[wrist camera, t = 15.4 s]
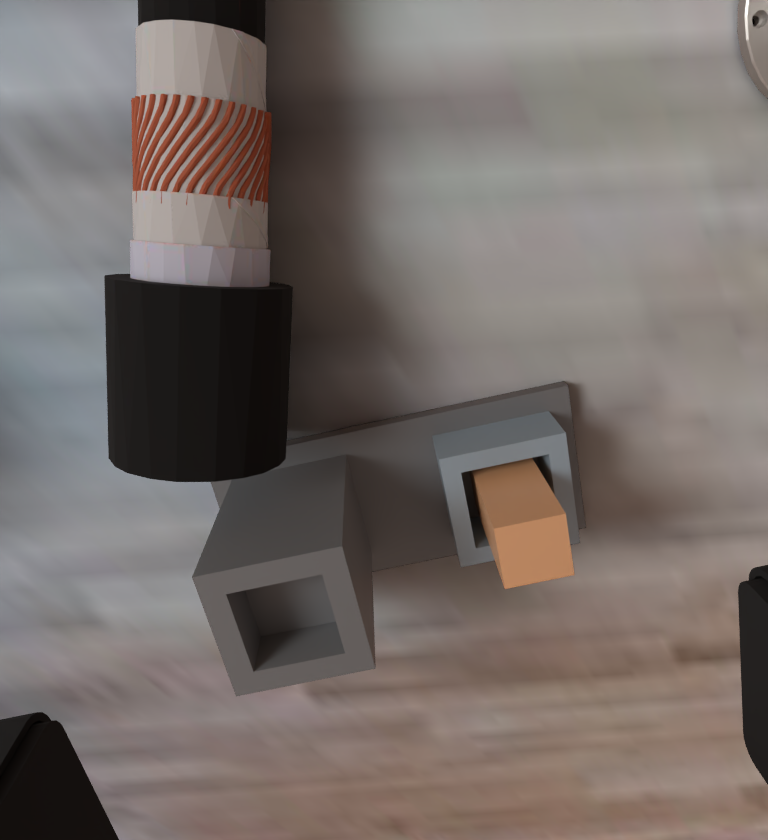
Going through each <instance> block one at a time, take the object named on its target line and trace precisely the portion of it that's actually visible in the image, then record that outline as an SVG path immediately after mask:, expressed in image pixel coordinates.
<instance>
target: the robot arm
mask: <svg viewBox="0 0 768 840" xmlns="http://www.w3.org/2000/svg"><path fill="white" fill-rule="evenodd" d="M752 18H754V20H755V24H754V26H753V23H752ZM737 32H738V39H739V45H740V51H741V55H742V58H743V61H744V63H745V66H746V69H747V72H748V74H749V76H750V77H751V79H752V80H753V82H754V84H755V85H756V87H757V88H758V90H759V91H760V92H761V93H762V94H763V95H764V96H765V97H766V98H767V99H768V0H739V3H738V22H737ZM738 598H739V626H740V654H741V681H742V709H743V734H744V740H745V744H746V747H747V750H748V753H749V755H750V757H751V759H752V761H753V763H754V764H755V766H756V768H757V769H758V771H759V772H760V774H761V775H762V777H763V778H764V780H765V781H766V783H767V784H768V565H765V566H760V567H755V568H753V569H752V570H751V572H750V574H749V581H744V582H741V583H740V585H739V589H738ZM0 840H119V839H118V837H117V835H116V833H115V831H114V829H113V827H112V825H111V823H110V821H109V819H108V817H107V815H106V813H105V811H104V809H103V807H102V805H101V803H100V801H99V799H98V797H97V795H96V793H95V791H94V788H93V786H92V784H91V782H90V780H89V778H88V776H87V774H86V772H85V770H84V768H83V766H82V764H81V762H80V760H79V758H78V756H77V754H76V752H75V750H74V748H73V746H72V744H71V742H70V740H69V738H68V736H67V734H66V732H65V730H64V728H63V726H62V725H61V723H59V722H58V721H51V720H50V718H49V717H48V716H47V715H46V714H44V713H43V712H37V713H32V714H27V715H22V716H17V717H12V718H7V719H2V720H0Z"/></svg>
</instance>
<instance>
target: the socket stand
mask: <svg viewBox="0 0 768 840" xmlns="http://www.w3.org/2000/svg"><path fill="white" fill-rule="evenodd" d="M529 458H533V460H534V462H535V463H536V465H537V467H538V468H539V470H540V472H541V473H542V475H543V477H544V478H545V480H546V482H547V483H548V485H549V487H550V488H551V490H552V492H553V493H554V495H555V497H556V498H557V500H558V502H559V503H560V505H561V506H562V508H563V510H564V511H565V513H566V518H567V525H568V533H569V540H570V545H573V544H577V543H580V538H579V531H578V529H582V528H586V524H585V516H584V509H583V501H582V493H581V485H580V477H579V469H578V461H577V453H576V445H575V437H574V429H573V421H572V413H571V405H570V397H569V389H568V385H567V384H566V383H565V382H564V381H562V382H557V383H553V384H548V385H544V386H539V387H534V388H530V389H525V390H520V391H516V392H511V393H506V394H502V395H497V396H492V397H488V398H483V399H478V400H474V401H469V402H465V403H460V404H455V405H451V406H446V407H441V408H437V409H432V410H427V411H423V412H418V413H413V414H409V415H404V416H400V417H395V418H390V419H386V420H381V421H376V422H372V423H367V424H362V425H358V426H353V427H348V428H344V429H339V430H334V431H330V432H325V433H321V434H316V435H311V436H307V437H302V438H297V439H293V440H288V441H286V459H285V460H284V461H283V462H282V463H281V464H280V465H279V466H278V467H276V468H274V469H272V470H270V471H267V472H265V473H263V474H258V475H254V476H250V477H246V478H241V479H233V480H225V481H217V482H211V484H212V487H213V490H214V493H215V496H216V499H217V502H218V505H219V508H220V510H219V513H218V515H217V517H216V520H215V522H214V525H213V527H212V530H211V532H210V535H209V537H208V540H207V542H206V545H205V547H204V549H203V552H202V554H201V557H200V559H199V562H198V564H197V567H196V569H195V572H194V574H193V576H192V578H193V581H194V584H195V587H196V589H197V592H198V595H199V597H200V600H201V603H202V605H203V608H204V611H205V614H206V616H207V619H208V622H209V624H210V627H211V630H212V632H213V635H214V638H215V640H216V643H217V646H218V649H219V651H220V654H221V657H222V659H223V662H224V665H225V667H226V670H227V673H228V676H229V678H230V681H231V684H232V686H233V689H234V692H235V694H236V696H240V695H245V694H250V693H255V692H260V691H265V690H270V689H275V688H280V687H285V686H290V685H295V684H300V683H305V682H310V681H315V680H320V679H325V678H330V677H335V676H340V675H345V674H350V673H355V672H360V671H365V670H370V669H375V640H374V612H373V583H372V572H374V571H379V570H383V569H388V568H393V567H398V566H403V565H408V564H413V563H417V562H422V561H427V560H432V559H437V558H442V557H446V556H451V555H456V554H458V558H459V562H460V566H461V567H465V566H470V565H475V564H480V563H485V562H490V561H495V559H494V557H493V554H492V551H491V548H490V545H489V542H488V539H487V537H486V534H485V531H484V528H483V525H482V522H481V519H480V517H479V514H478V511H477V508H476V504H475V498H474V493H473V488H472V483H471V477H470V472H469V471H472V470H476V469H481V468H486V467H491V466H495V465H500V464H505V463H510V462H514V461H519V460H524V459H529Z"/></svg>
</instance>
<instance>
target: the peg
mask: <svg viewBox="0 0 768 840" xmlns="http://www.w3.org/2000/svg"><path fill="white" fill-rule="evenodd" d="M469 472H470V477H471V483H472V488H473V493H474V498H475V504H476V508H477V511H478V514H479V517H480V519H481V522H482V525H483V528H484V531H485V534H486V537H487V539H488V542H489V545H490V548H491V551H492V554H493V557H494V559H495V562H496V565H497V568H498V571H499V574H500V577H501V579H502V582H503V585H504V588H505V589H508V588H513V587H518V586H523V585H528V584H532V583H537V582H542V581H547V580H552V579H557V578H562V577H566V576H571V575H574V569H573V561H572V554H571V547H570V540H569V533H568V525H567V518H566V513H565V511H564V510H563V508H562V506H561V505H560V503H559V502H558V500H557V498H556V497H555V495H554V493H553V492H552V490H551V488H550V487H549V485H548V483H547V482H546V480H545V478H544V477H543V475H542V473H541V472H540V470H539V468H538V467H537V465H536V463H535V462H534V460H533V458H529V459H524V460H519V461H514V462H510V463H505V464H500V465H495V466H491V467H486V468H481V469H476V470H472V471H469Z"/></svg>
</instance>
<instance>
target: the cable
mask: <svg viewBox="0 0 768 840" xmlns="http://www.w3.org/2000/svg"><path fill="white" fill-rule="evenodd" d="M266 56H267V46H266V45H265V0H138V27H137V28H136V79H137V96H135V98H132V100H131V103H132V151H133V155H132V163H133V191H132V207H133V240H130V274H114V275H105V316H106V359H107V402H108V445H109V459H110V460H111V462H112V463H113V464H114V466H115V467H117V468H119V469H121V470H123V471H125V472H127V473H129V474H133V475H138V476H142V477H146V478H150V479H157V480H165V481H174V482H217V481H225V480H233V479H241V478H246V477H250V476H254V475H258V474H263V473H265V472H267V471H270V470H272V469H274V468H276V467H278V466H279V465H280V464H281V463H282V462H283V461H284V460H285V459H286V441H287V416H288V391H289V366H290V341H291V316H292V291H293V287H291V286H289V285H285V284H279V283H272V282H269V280H270V253H271V250H269V249H268V235H267V232H268V179H269V170H270V157H271V112H266Z"/></svg>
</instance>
